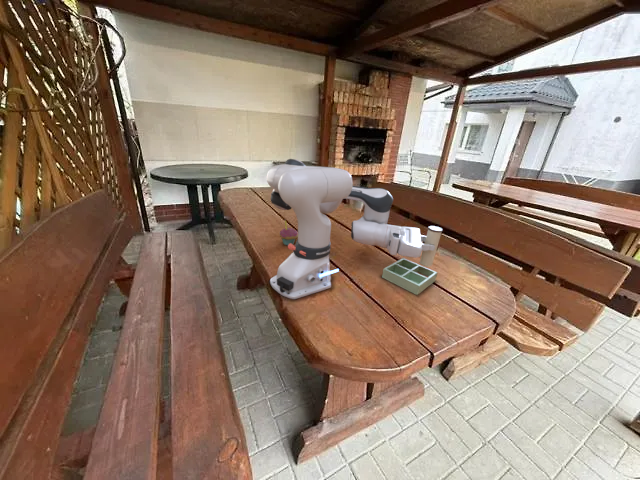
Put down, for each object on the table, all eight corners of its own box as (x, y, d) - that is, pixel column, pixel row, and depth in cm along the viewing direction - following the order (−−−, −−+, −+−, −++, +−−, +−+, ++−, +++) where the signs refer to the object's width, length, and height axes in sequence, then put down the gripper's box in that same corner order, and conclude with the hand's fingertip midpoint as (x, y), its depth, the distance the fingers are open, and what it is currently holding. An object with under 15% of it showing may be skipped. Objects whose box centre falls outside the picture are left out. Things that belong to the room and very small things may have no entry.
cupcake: (285, 248, 116) (285, 223, 111) (275, 241, 122) (275, 217, 117) (301, 244, 121) (302, 219, 116) (291, 237, 127) (291, 214, 122)
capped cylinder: (429, 268, 93) (439, 231, 87) (417, 263, 96) (426, 227, 90) (434, 264, 96) (444, 229, 90) (422, 259, 99) (431, 225, 93)
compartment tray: (417, 295, 90) (419, 286, 88) (381, 277, 99) (383, 268, 98) (435, 281, 99) (437, 272, 98) (401, 265, 108) (403, 257, 107)
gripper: (393, 235, 106) (429, 241, 103) (390, 256, 88) (434, 265, 85) (396, 220, 104) (433, 226, 100) (394, 239, 86) (439, 247, 82)
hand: (433, 244), depth 93 cm, fingers closed on capped cylinder, 4 cm apart
